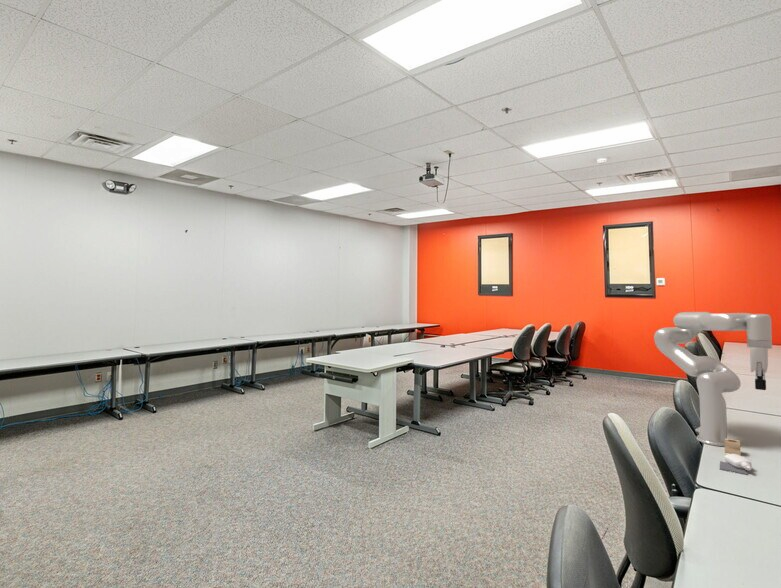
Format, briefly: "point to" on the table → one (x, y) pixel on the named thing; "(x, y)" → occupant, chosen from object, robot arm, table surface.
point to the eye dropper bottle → (738, 461)
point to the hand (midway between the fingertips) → (760, 389)
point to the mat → (732, 468)
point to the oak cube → (732, 446)
